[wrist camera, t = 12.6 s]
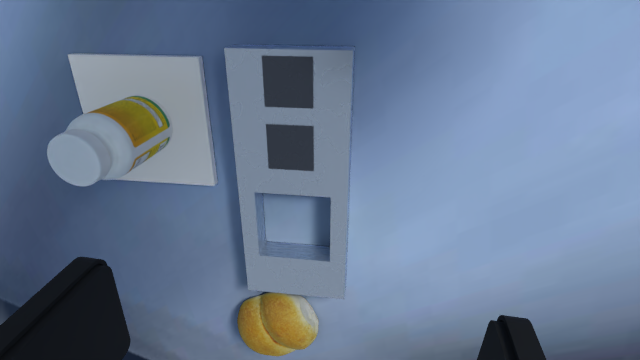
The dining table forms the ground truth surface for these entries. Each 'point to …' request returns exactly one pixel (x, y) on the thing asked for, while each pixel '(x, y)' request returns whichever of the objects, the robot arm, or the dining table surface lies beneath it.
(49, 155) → the supplement bottle
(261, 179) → the grey board with squares
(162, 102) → the plate
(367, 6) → the dining table surface
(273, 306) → the bread roll
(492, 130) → the dining table surface
